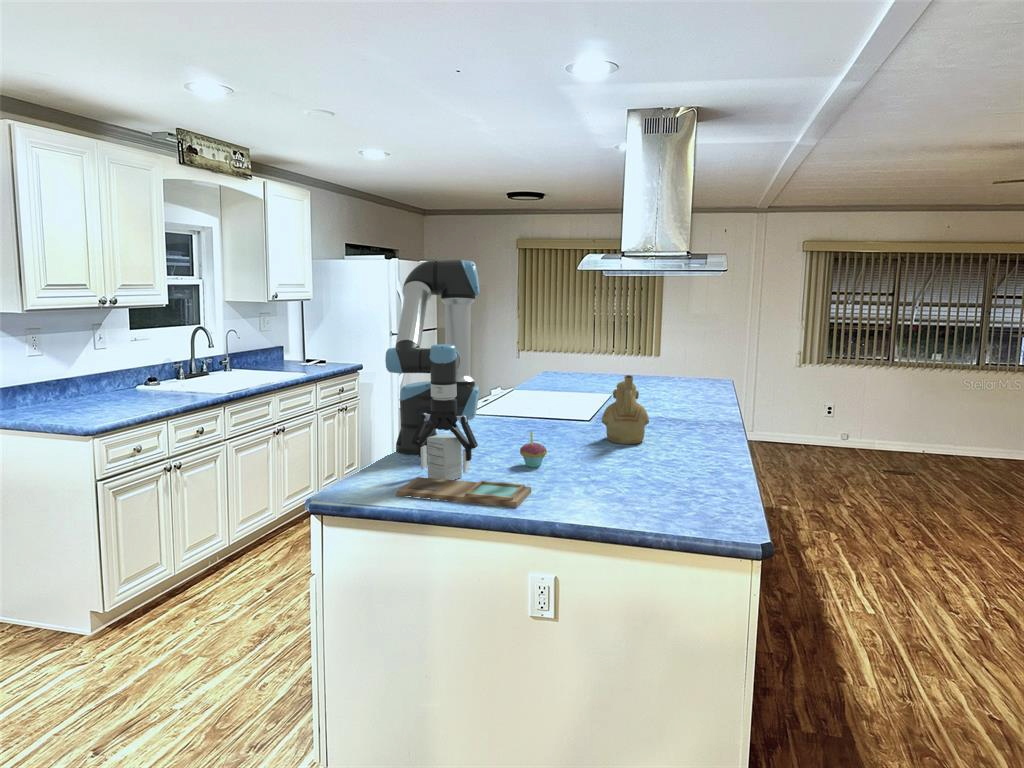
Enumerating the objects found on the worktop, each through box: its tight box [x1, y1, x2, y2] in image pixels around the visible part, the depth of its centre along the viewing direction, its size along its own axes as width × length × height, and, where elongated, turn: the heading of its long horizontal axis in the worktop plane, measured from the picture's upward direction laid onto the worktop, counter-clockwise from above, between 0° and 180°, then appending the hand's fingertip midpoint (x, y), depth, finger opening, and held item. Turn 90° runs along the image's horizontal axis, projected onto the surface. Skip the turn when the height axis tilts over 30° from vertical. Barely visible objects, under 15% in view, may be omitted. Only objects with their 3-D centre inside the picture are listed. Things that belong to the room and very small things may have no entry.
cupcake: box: [519, 429, 548, 468], centre depth 223 cm, size 9×8×12 cm
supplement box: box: [427, 432, 463, 480], centre depth 208 cm, size 7×7×13 cm
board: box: [395, 476, 532, 509], centre depth 193 cm, size 34×14×2 cm, turn 73°
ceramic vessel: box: [601, 374, 650, 445], centre depth 256 cm, size 17×20×25 cm
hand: (444, 469), depth 208 cm, fingers open, 12 cm apart
